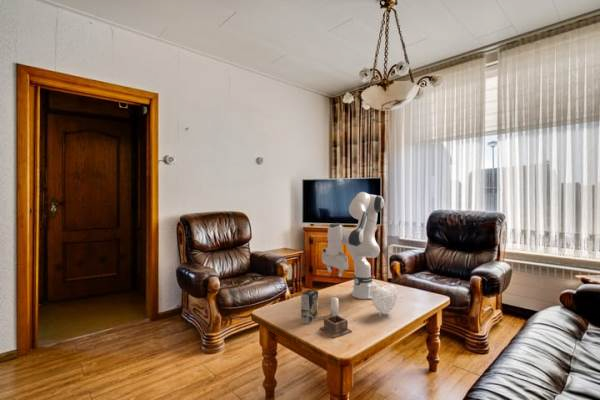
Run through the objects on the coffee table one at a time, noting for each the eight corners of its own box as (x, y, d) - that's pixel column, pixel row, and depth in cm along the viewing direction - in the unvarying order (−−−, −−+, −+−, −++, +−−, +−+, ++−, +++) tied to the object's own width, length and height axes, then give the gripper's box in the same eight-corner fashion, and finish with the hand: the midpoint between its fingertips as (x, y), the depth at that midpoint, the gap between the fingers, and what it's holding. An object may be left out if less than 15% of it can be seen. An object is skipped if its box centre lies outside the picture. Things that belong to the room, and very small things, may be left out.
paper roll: (335, 313, 178) (335, 296, 178) (339, 315, 175) (340, 299, 174) (329, 315, 176) (329, 298, 176) (334, 317, 172) (334, 300, 172)
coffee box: (310, 324, 163) (310, 295, 163) (300, 321, 167) (300, 293, 166) (318, 318, 171) (318, 290, 171) (308, 316, 175) (308, 288, 174)
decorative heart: (380, 321, 168) (380, 291, 167) (367, 314, 177) (367, 286, 176) (401, 314, 177) (401, 285, 177) (387, 308, 186) (388, 281, 186)
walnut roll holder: (336, 323, 164) (336, 312, 164) (351, 332, 154) (351, 320, 154) (319, 329, 158) (319, 318, 158) (334, 338, 148) (334, 326, 148)
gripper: (351, 253, 167) (350, 277, 167) (328, 247, 184) (328, 269, 185) (342, 254, 164) (342, 279, 164) (320, 248, 181) (320, 271, 181)
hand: (334, 274), depth 174 cm, fingers open, 8 cm apart
